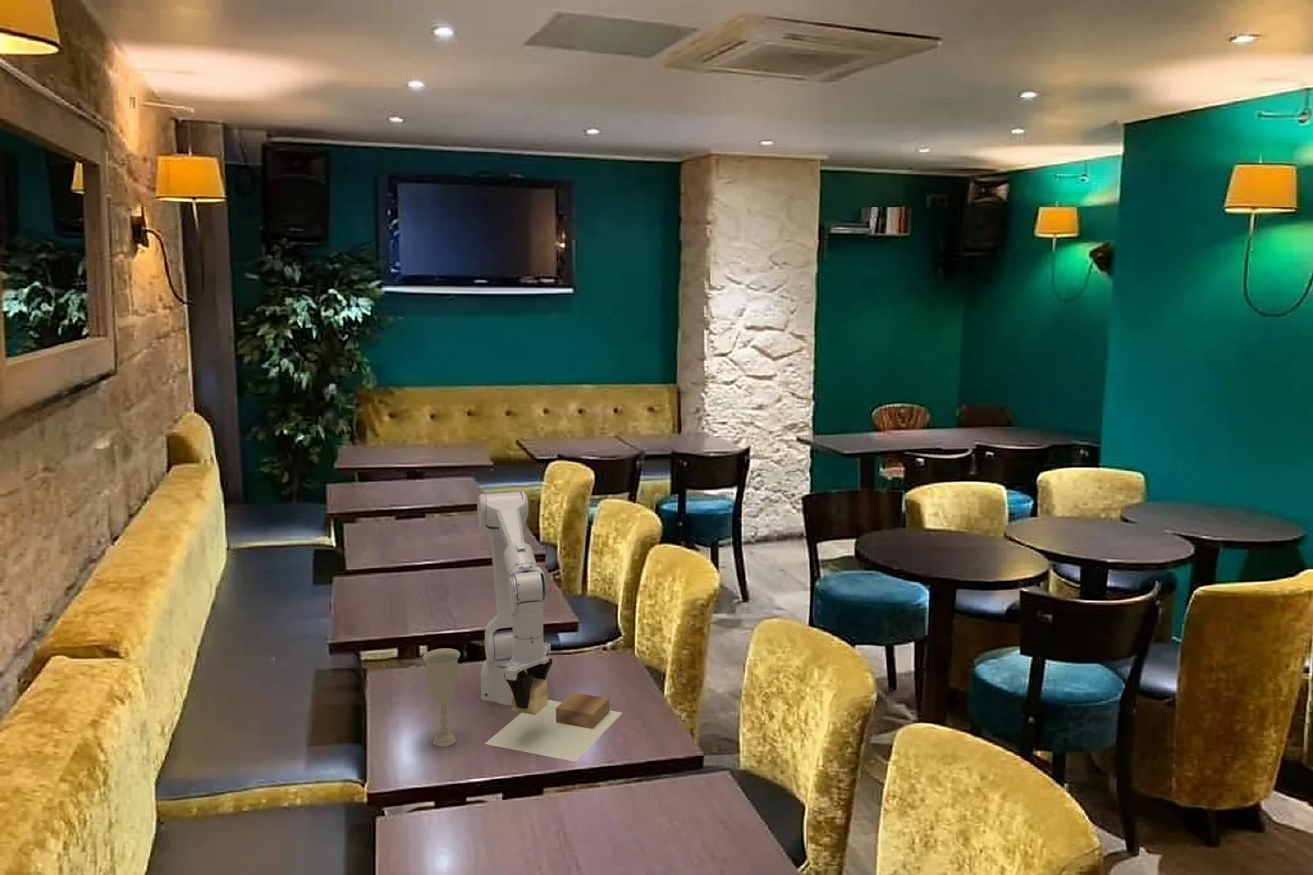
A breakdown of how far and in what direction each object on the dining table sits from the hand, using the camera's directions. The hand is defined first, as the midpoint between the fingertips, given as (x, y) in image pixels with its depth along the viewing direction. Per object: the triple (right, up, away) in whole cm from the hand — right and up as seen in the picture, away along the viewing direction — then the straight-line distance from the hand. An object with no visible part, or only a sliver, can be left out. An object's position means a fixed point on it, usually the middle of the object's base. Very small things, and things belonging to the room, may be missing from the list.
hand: (529, 701), depth 192 cm
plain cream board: (+5, -7, +5) cm, 10 cm away
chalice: (-16, -8, -1) cm, 18 cm away
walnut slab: (+10, -6, +9) cm, 14 cm away
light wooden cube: (0, -1, 0) cm, 1 cm away
